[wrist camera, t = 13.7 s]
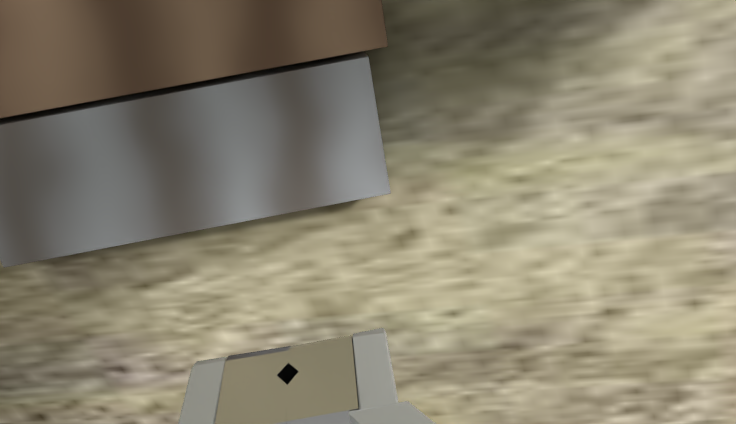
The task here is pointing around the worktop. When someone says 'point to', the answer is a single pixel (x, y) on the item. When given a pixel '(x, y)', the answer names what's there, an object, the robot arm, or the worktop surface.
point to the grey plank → (189, 158)
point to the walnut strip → (164, 43)
